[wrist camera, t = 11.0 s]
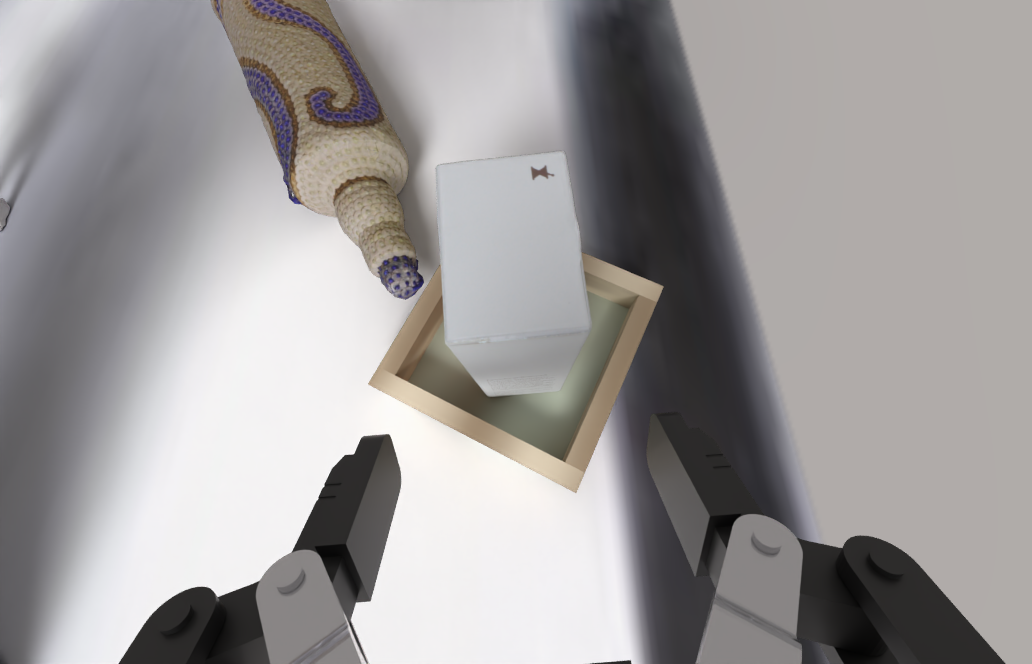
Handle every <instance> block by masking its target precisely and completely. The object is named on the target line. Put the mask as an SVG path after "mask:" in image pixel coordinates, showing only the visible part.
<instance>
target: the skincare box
mask: <svg viewBox="0 0 1032 664" xmlns="http://www.w3.org/2000/svg"><path fill="white" fill-rule="evenodd" d="M436 190H437V221H438V235H439V247H440V260H441V278H442V297H443V315H444V332H445V344H446V345H447V346H448V347H449V348H450V350H451V351H452V352H453V354H454V355H455V356H456V357H457V359H458V360H459V361H460V362H461V364H462V365H463V366H464V367H465V369H466V370H467V371H468V372H469V374H470V375H471V376H472V378H473V379H474V380H475V381H476V383H477V384H478V385H479V386H480V388H481V389H482V390H483V391H484V393H485V394H486V395H487V396H488V397H498V396H509V395H522V394H534V393H545V392H556V391H560V390H561V388H562V386H563V384H564V382H565V380H566V378H567V376H568V374H569V372H570V370H571V369H572V366H573V365H574V363H575V360H576V358H577V357H578V355H579V353H580V351H581V349H582V347H583V345H584V343H585V341H586V339H587V337H588V336H589V333H590V331H591V329H592V320H591V314H590V308H589V301H588V295H587V289H586V281H585V275H584V268H583V261H582V251H581V237H580V230H579V224H578V221H577V218H576V211H575V205H574V199H573V193H572V187H571V181H570V175H569V170H568V164H567V158H566V154H565V152H563V151H555V152H547V153H538V154H529V155H520V156H510V157H500V158H490V159H480V160H470V161H461V162H454V163H447V164H441V165H437V167H436Z"/></svg>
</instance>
